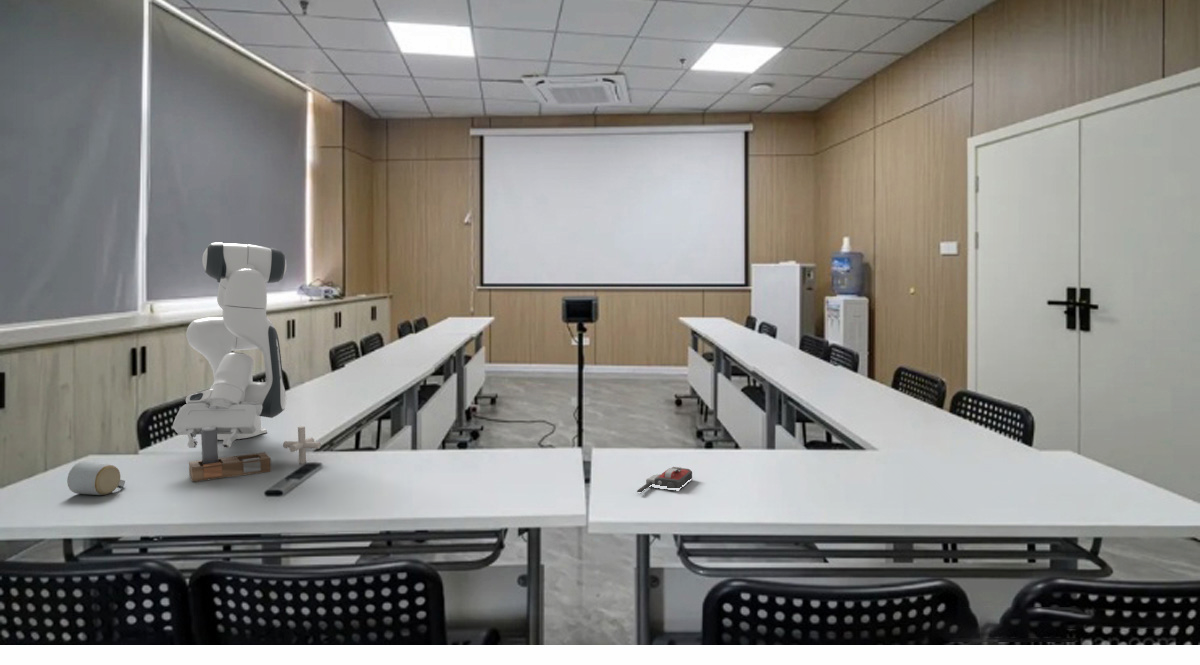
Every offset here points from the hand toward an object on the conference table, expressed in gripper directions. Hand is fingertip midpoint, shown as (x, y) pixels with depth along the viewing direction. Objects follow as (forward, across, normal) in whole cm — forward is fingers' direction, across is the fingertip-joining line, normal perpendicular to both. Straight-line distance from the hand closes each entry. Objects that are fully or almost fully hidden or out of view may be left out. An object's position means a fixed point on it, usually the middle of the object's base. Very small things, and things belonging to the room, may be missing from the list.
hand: (208, 446), depth 181 cm
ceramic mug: (+14, +20, +3) cm, 25 cm away
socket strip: (+4, -4, -8) cm, 9 cm away
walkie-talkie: (+20, -115, +8) cm, 117 cm away
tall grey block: (+5, 0, -6) cm, 8 cm away
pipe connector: (-3, -19, -15) cm, 24 cm away
